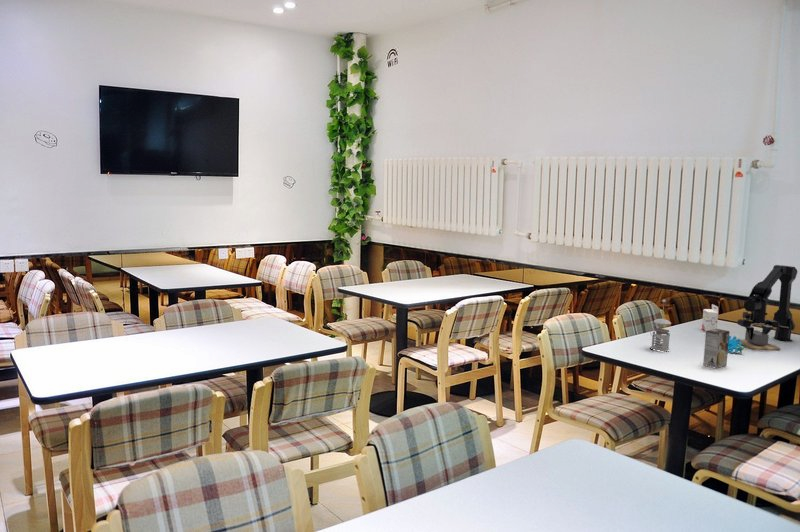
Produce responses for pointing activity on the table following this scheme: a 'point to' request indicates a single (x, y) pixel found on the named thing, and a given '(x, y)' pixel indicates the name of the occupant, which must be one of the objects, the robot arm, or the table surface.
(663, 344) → the french press
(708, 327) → the ink cartridge box
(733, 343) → the gear
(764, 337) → the block
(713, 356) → the coffee box
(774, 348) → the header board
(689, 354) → the table surface
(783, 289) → the robot arm
